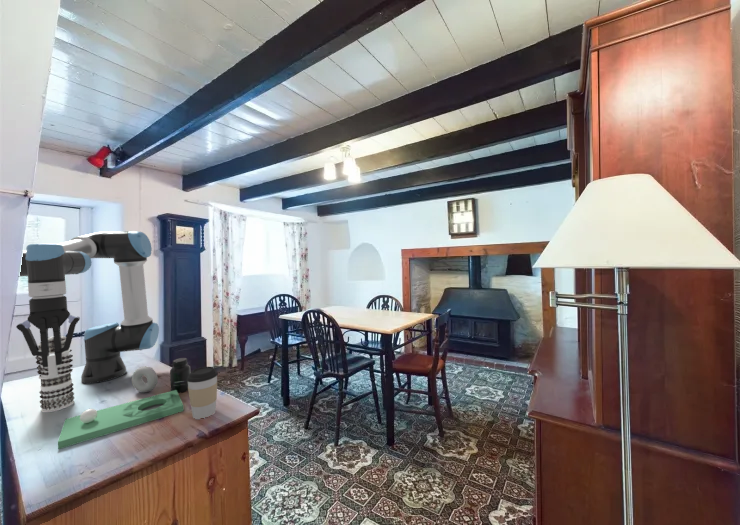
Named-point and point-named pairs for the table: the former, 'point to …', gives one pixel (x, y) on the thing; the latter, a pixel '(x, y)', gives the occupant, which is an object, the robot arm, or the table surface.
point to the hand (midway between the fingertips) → (53, 376)
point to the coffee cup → (202, 391)
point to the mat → (120, 418)
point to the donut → (138, 381)
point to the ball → (88, 415)
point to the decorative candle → (56, 381)
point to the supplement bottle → (179, 375)
